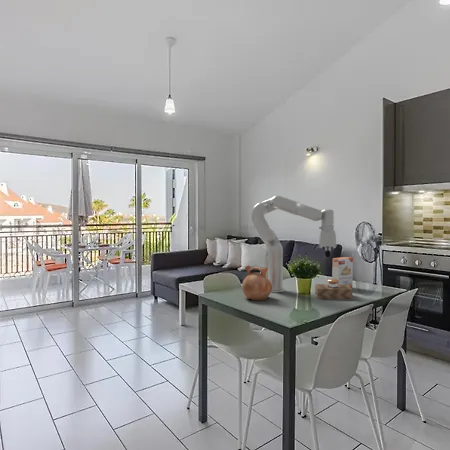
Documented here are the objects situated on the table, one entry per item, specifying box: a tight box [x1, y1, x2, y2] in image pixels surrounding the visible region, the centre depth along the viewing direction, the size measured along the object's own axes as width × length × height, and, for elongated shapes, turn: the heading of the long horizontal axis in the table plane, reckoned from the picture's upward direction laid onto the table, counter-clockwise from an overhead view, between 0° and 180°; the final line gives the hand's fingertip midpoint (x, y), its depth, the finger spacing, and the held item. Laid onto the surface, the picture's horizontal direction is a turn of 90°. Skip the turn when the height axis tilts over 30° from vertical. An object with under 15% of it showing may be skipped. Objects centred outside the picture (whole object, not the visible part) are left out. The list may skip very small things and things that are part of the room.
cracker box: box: [331, 256, 354, 289], centre depth 239 cm, size 14×6×21 cm, turn 120°
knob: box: [326, 278, 339, 288], centre depth 217 cm, size 7×7×7 cm
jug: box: [241, 264, 272, 301], centre depth 213 cm, size 18×18×20 cm
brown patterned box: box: [314, 283, 353, 301], centre depth 217 cm, size 20×14×6 cm
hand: (327, 257), depth 228 cm, fingers closed
